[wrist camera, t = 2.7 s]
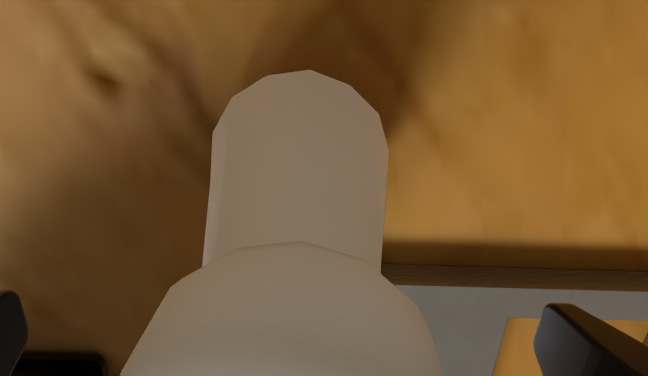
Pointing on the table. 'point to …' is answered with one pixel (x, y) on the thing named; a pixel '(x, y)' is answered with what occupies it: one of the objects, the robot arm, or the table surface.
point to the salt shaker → (291, 248)
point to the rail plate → (507, 304)
